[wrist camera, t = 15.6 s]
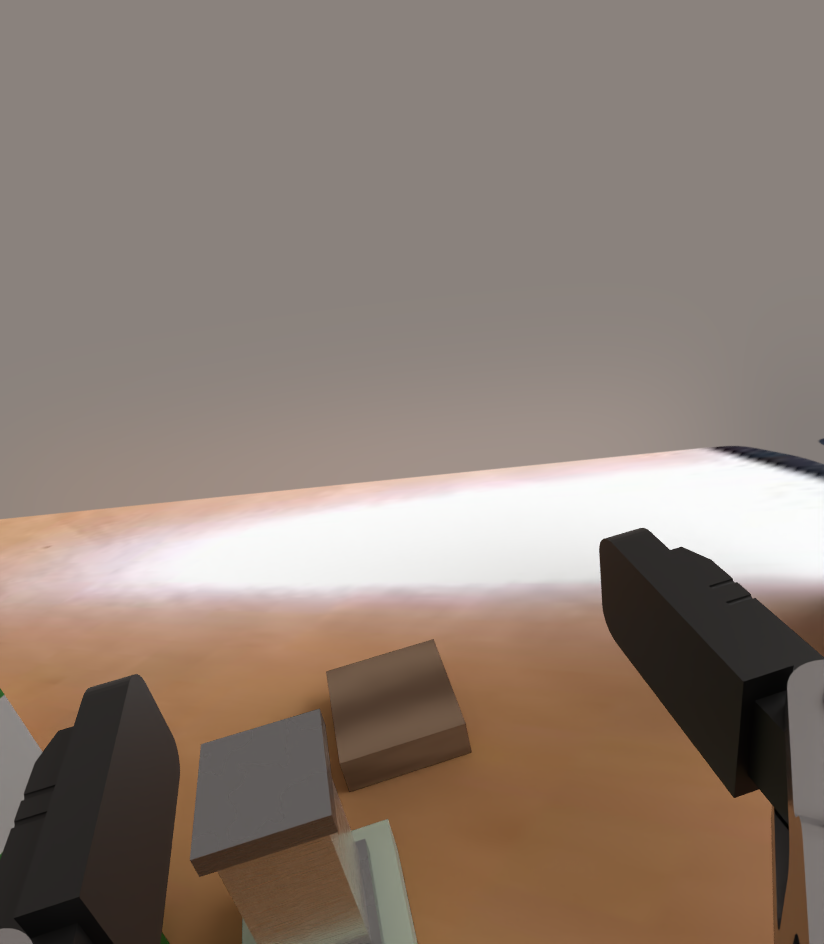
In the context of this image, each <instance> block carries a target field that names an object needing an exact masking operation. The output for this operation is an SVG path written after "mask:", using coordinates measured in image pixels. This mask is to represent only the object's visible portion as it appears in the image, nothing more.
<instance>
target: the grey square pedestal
mask: <svg viewBox="0 0 824 944" xmlns="http://www.w3.org/2000/svg"><path fill="white" fill-rule="evenodd" d="M190 861H191V863H192V865H193V866H194V868H195V870H196V872H197V873H198V875H199V877H201V876H204V875H207V874H210V873H214V872H218V874H219V875H220V877H221V879H222V881H223V883H224V885H225V886H226V888H227V890H228V892H229V894H230V896H231V897H232V899H233V901H234V903H235V905H236V907H237V908H238V910H239V912H240V914H241V916H242V918H243V919H244V921H245V923H246V925H247V927H248V929H249V930H250V932H251V934H252V936H253V938H254V939H255V941H256V943H257V944H384V937H383V931H382V925H381V919H380V913H379V907H378V900H377V894H376V888H375V882H374V876H373V870H372V863H371V857H370V851H369V848H368V845H367V842H366V840H365V839H362V840H359V841H356V842H355V840H354V837H353V834H352V832H351V829H350V826H349V823H348V821H347V818H346V815H345V812H344V810H343V807H342V804H341V801H340V799H339V796H338V793H337V790H336V788H335V785H334V782H333V779H332V776H331V768H330V759H329V751H328V743H327V734H326V726H325V723H324V720H323V717H322V714H321V711H320V709H317V710H314V711H310V712H307V713H304V714H300V715H297V716H294V717H290V718H287V719H284V720H280V721H277V722H274V723H270V724H267V725H264V726H260V727H257V728H254V729H250V730H247V731H244V732H241V733H237V734H234V735H231V736H227V737H224V738H221V739H217V740H214V741H211V742H207V743H204V744H201V751H200V761H199V772H198V782H197V792H196V803H195V813H194V823H193V834H192V844H191V855H190Z"/></svg>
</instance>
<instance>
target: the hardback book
mask: <svg viewBox="0 0 824 944" xmlns="http://www.w3.org/2000/svg"><path fill="white" fill-rule="evenodd" d="M41 754H42V751H41V749H40V748H39V746H38V745H37V743H36V742H35V740H34V739H33V737H32V736H31V734H30V732H29V731H28V729H27V728H26V726H25V725H24V723H23V722H22V720H21V719H20V717H19V716H18V714H17V713H16V711H15V710H14V708H13V707H12V705H11V704H10V702H9V701H8V699H7V698H6V696H5V695H4V693H3V692H2V690H1V689H0V858H1V855H2V853H3V850H4V847H5V844H6V841H7V839H8V836H9V833H10V830H11V828H14V826H15V824H14V819H15V816H16V814H17V811H18V808H19V805H20V802H21V801H22V800H24V795H23V794H24V791H25V789H26V786H27V783H28V780H29V777H30V775H31V772H32V769H33V766H34V764H35V762H36V760H37V759H38V758H39V756H40V755H41ZM160 944H169V942H168V941H167V939H166V938H165V936H164V935H163V933H162V934H161V942H160Z"/></svg>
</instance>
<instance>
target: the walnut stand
mask: <svg viewBox="0 0 824 944" xmlns="http://www.w3.org/2000/svg"><path fill="white" fill-rule="evenodd" d="M326 674H327V681H328V687H329V694H330V701H331V708H332V715H333V721H334V728H335V735H336V742H337V749H338V756H339V762H340V766H341V769H342V772H343V775H344V777H345V780H346V783H347V786H348V789H349V792H351V791H354V790H357V789H360V788H363V787H366V786H369V785H372V784H375V783H379V782H382V781H385V780H388V779H391V778H394V777H397V776H400V775H403V774H406V773H409V772H412V771H415V770H419V769H422V768H425V767H428V766H431V765H434V764H437V763H440V762H443V761H446V760H449V759H452V758H455V757H459V756H462V755H465V754H468V753H471V747H470V742H469V738H468V733H467V728H466V723H465V721H464V718H463V715H462V713H461V710H460V707H459V705H458V702H457V700H456V697H455V694H454V692H453V689H452V686H451V684H450V681H449V679H448V676H447V673H446V671H445V668H444V665H443V663H442V660H441V658H440V655H439V652H438V650H437V647H436V645H435V642H434V639H432V640H429V641H426V642H423V643H419V644H416V645H413V646H409V647H406V648H403V649H399V650H396V651H393V652H389V653H386V654H383V655H379V656H376V657H373V658H369V659H366V660H363V661H360V662H356V663H353V664H350V665H346V666H343V667H340V668H336V669H333V670H330V671H326Z"/></svg>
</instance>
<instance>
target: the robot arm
mask: <svg viewBox="0 0 824 944" xmlns="http://www.w3.org/2000/svg"><path fill="white" fill-rule="evenodd" d="M599 553H600V571H601V589H602V606H603V613H604V617H605V620H606V623H607V626H608V628H609V631H610V633H611V635H612V637H613V638H614V640H615V642H616V643H617V644H618V646H619V647H620V648H621V650H622V651H623V652H624V654H625V655H626V656H627V657H628V659H629V660H630V661H631V663H632V664H633V665H634V667H635V668H636V669H637V671H638V672H639V673H640V675H641V676H642V677H643V679H644V680H645V681H646V683H647V684H648V685H649V686H650V688H651V689H652V690H653V692H654V693H655V694H656V696H657V697H658V698H659V700H660V701H661V702H662V704H663V705H664V706H665V708H666V709H667V710H668V712H669V713H670V714H671V715H672V717H673V718H674V719H675V721H676V722H677V723H678V725H679V726H680V727H681V729H682V730H683V731H684V733H685V734H686V735H687V737H688V738H689V739H690V741H691V742H692V743H693V745H694V746H695V747H696V748H697V750H698V751H699V752H700V754H701V755H702V756H703V758H704V759H705V760H706V762H707V763H708V764H709V766H710V767H711V768H712V770H713V771H714V772H715V774H716V775H717V776H718V777H719V779H720V780H721V781H722V783H723V784H724V785H725V787H726V788H727V789H728V791H729V792H730V793H731V795H732V796H733V797H734V798H736V797H738V796H741V795H744V794H747V793H750V792H753V791H756V790H758V789H760V790H761V792H762V793H763V794H764V795H765V797H766V798H767V799H768V800H769V801H770V803H771V804H772V812H771V840H772V882H773V925H774V944H824V657H823V656H822V655H820V654H819V653H818V652H817V651H816V650H815V649H813V648H812V647H811V646H810V645H809V644H808V643H807V642H805V641H804V640H803V639H802V638H801V637H800V636H798V635H797V634H796V633H795V632H794V631H793V630H792V629H790V628H789V627H788V626H787V625H786V624H785V623H783V622H782V621H781V620H780V619H779V618H778V617H777V616H775V615H774V614H773V613H772V612H771V611H770V610H768V609H767V608H766V607H765V606H764V605H763V604H762V603H760V602H759V601H758V600H757V599H756V598H754V599H753V598H752V597H751V594H750V593H749V592H748V591H747V590H745V589H744V588H743V587H742V586H741V585H740V584H738V583H737V582H736V583H734V581H733V578H732V577H730V576H729V575H728V574H727V573H726V572H725V571H723V570H722V569H721V568H720V567H719V566H718V565H717V564H715V563H714V562H713V561H712V560H711V559H708V558H706V557H704V556H701V555H699V554H697V553H695V552H692V551H690V550H688V549H685V548H683V547H679V548H676V549H672V550H669V549H668V548H667V547H666V546H665V545H664V544H663V543H662V542H661V541H660V540H659V539H658V538H656V537H655V536H654V535H653V534H652V533H651V532H650V531H649V530H647V529H645V528H639V529H636V530H633V531H629V532H626V533H622V534H619V535H615V536H612V537H609V538H605V539H603V540H602V541H601V542H600V547H599ZM179 779H180V763H179V755H178V750H177V746H176V743H175V740H174V738H173V735H172V733H171V731H170V729H169V728H168V726H167V724H166V722H165V720H164V718H163V716H162V714H161V712H160V710H159V708H158V706H157V704H156V702H155V700H154V698H153V696H152V694H151V693H150V691H149V689H148V687H147V685H146V683H145V681H144V680H143V678H142V677H141V676H140V675H138V674H135V675H131V676H128V677H124V678H121V679H118V680H114V681H111V682H107V683H104V684H100V685H97V686H94V687H90V688H88V689H87V690H86V692H85V693H84V696H83V698H82V702H81V705H80V708H79V711H78V714H77V718H76V721H75V724H74V726H73V727H70V728H66V729H63V730H60V731H58V732H57V734H56V735H55V736H54V738H53V739H52V740H51V742H50V743H49V744H48V746H47V747H46V748H45V750H44V751H43V752H42V754H41V755H40V756H39V758H38V759H37V760H36V762H35V764H34V766H33V769H32V772H31V775H30V777H29V780H28V783H27V786H26V789H25V791H24V794H23V795H24V800H22V801H21V802H20V805H19V808H18V811H17V814H16V816H15V819H14V824H15V826H14V828H11V830H10V833H9V836H8V839H7V841H6V844H5V847H4V850H3V853H2V855H1V858H0V944H160V942H161V934H162V925H163V917H164V908H165V899H166V891H167V882H168V873H169V865H170V856H171V848H172V839H173V830H174V822H175V813H176V804H177V796H178V787H179Z"/></svg>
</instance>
